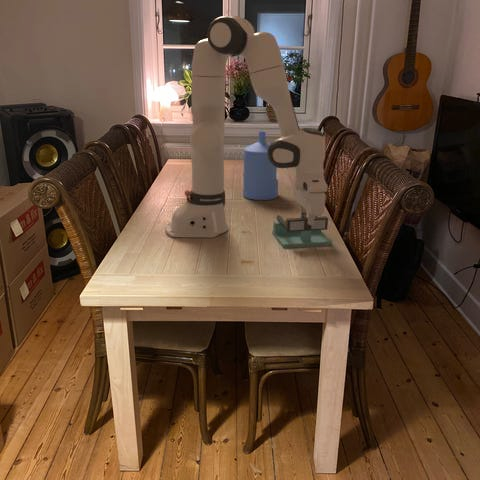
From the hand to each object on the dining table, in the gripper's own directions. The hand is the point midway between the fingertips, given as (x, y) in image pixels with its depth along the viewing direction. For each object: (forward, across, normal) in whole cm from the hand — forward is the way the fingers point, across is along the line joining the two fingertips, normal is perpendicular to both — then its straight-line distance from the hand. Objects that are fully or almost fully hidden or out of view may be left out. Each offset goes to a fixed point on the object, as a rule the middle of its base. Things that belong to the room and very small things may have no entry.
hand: (306, 220), depth 168 cm
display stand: (+8, -4, 0) cm, 9 cm away
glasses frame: (+3, -5, 0) cm, 6 cm away
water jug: (+8, -59, -1) cm, 60 cm away
